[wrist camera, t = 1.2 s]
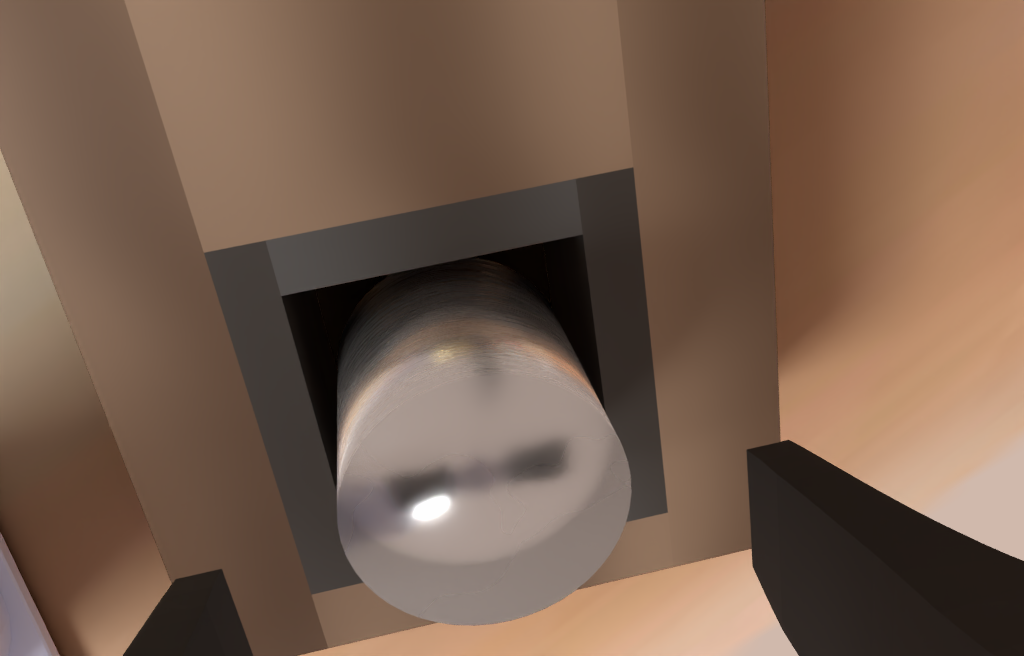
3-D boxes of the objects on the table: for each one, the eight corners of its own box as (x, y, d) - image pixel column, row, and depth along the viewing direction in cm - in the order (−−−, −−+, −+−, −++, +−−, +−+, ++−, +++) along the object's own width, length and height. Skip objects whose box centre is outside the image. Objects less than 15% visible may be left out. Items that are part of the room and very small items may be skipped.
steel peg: (365, 479, 19) (372, 653, 15) (312, 282, 17) (303, 414, 13) (576, 433, 20) (644, 588, 15) (547, 234, 18) (615, 347, 13)
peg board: (233, 526, 24) (208, 676, 19) (-185, -679, 14) (-433, -948, 9) (702, 421, 25) (784, 540, 20) (610, -771, 15) (727, -1054, 10)
